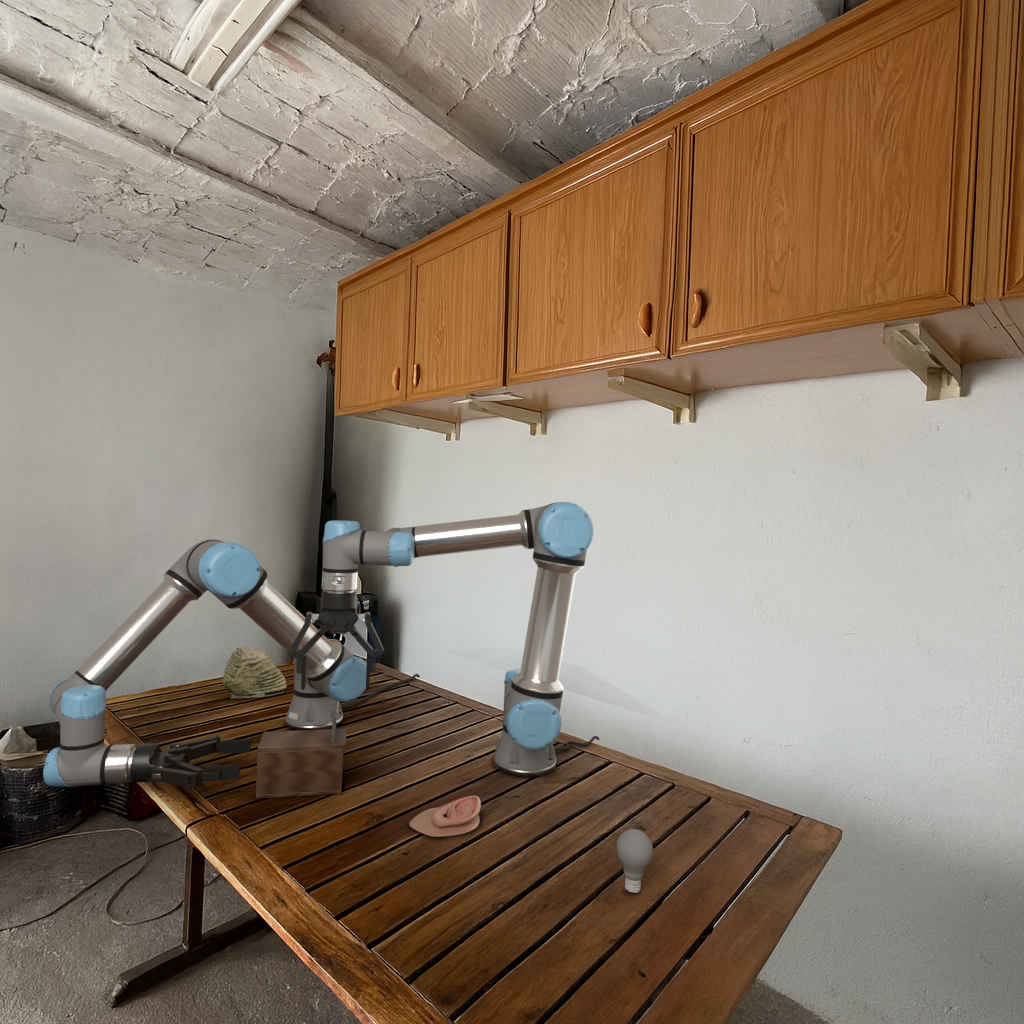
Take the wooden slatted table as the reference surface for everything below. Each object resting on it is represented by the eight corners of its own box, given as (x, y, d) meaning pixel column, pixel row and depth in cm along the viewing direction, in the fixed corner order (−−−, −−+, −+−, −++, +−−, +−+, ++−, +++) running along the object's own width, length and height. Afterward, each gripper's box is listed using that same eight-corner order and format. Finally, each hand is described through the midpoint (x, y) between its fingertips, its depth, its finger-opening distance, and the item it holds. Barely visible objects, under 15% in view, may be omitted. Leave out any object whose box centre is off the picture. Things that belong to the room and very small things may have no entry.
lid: (346, 733, 144) (347, 698, 144) (345, 748, 136) (346, 712, 135) (264, 736, 140) (265, 701, 140) (257, 752, 132) (258, 715, 131)
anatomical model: (403, 811, 121) (424, 785, 132) (402, 832, 121) (423, 804, 132) (471, 821, 118) (485, 794, 129) (470, 843, 118) (485, 813, 129)
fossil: (218, 695, 195) (220, 647, 195) (278, 685, 208) (279, 640, 207) (228, 703, 189) (230, 653, 188) (289, 692, 201) (290, 645, 201)
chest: (342, 775, 145) (344, 733, 144) (341, 793, 136) (343, 749, 135) (262, 779, 141) (264, 736, 140) (255, 798, 132) (257, 752, 132)
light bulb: (610, 879, 108) (613, 822, 108) (644, 879, 109) (647, 822, 109) (619, 902, 102) (622, 840, 102) (655, 901, 103) (658, 840, 103)
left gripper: (154, 756, 142) (254, 752, 147) (110, 811, 118) (232, 803, 123) (155, 723, 142) (255, 720, 147) (112, 771, 118) (234, 765, 123)
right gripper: (277, 592, 132) (273, 693, 133) (398, 593, 138) (394, 690, 138) (281, 587, 140) (278, 683, 140) (396, 588, 145) (392, 680, 146)
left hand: (245, 758), depth 135 cm, fingers open, 13 cm apart
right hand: (335, 687), depth 139 cm, fingers open, 13 cm apart
